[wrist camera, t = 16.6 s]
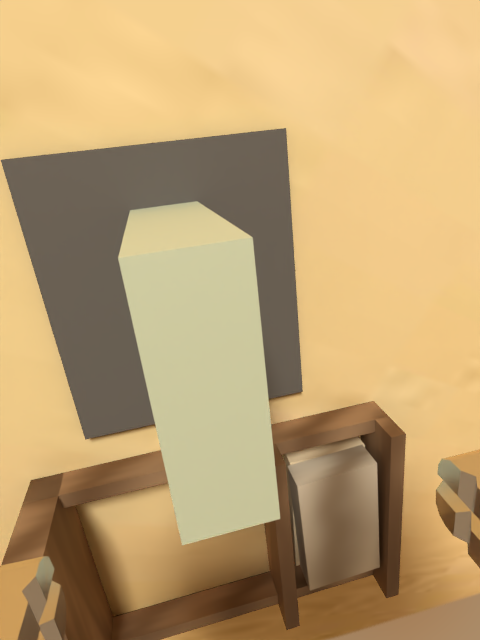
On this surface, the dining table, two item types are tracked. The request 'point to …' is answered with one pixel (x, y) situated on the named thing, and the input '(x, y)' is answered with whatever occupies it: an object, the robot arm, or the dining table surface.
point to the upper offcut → (336, 515)
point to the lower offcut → (307, 455)
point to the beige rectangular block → (203, 364)
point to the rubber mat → (105, 242)
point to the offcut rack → (223, 601)
